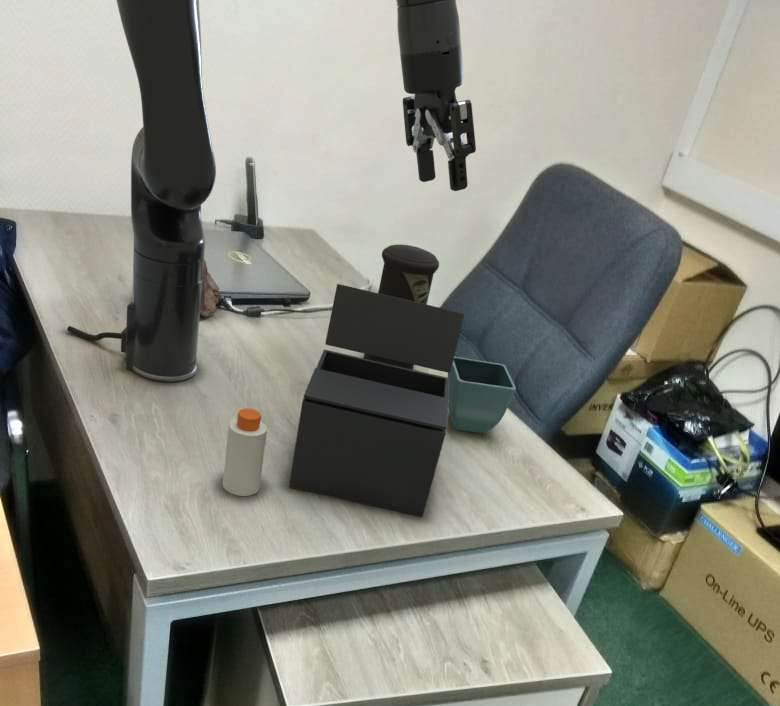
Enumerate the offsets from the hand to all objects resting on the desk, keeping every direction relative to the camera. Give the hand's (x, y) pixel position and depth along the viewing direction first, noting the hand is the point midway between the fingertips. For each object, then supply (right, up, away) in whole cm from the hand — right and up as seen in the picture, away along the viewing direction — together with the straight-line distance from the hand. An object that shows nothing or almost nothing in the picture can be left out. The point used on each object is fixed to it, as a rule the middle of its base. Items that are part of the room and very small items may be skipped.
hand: (443, 185), depth 107 cm
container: (-8, -20, +27) cm, 34 cm away
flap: (-6, -20, -3) cm, 21 cm away
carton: (-11, -38, -1) cm, 40 cm away
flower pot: (+5, -30, +16) cm, 35 cm away
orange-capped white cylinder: (-25, -41, -10) cm, 49 cm away
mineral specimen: (-44, -8, +31) cm, 54 cm away
